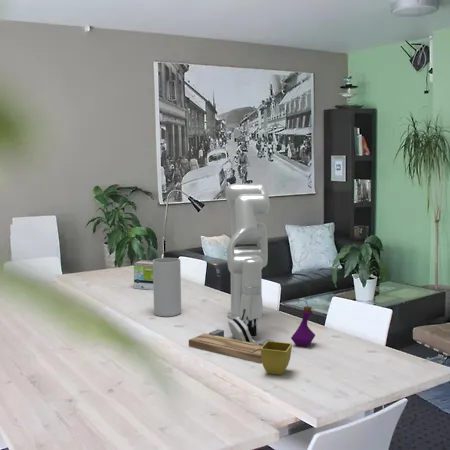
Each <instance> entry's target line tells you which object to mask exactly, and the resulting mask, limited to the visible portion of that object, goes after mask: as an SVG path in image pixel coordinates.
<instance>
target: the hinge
mask: <svg viewBox="0 0 450 450" xmlns="http://www.w3.org/2000/svg"><path fill="white" fill-rule="evenodd" d="M227 324H228V326H229V330H230V333H231V336H232V337H233V339H236V340H240V341H245V342H250V343H254V344H257V345H258V343H257V342H256V340H254V339H253V338H252V336H251V335H250V333H249V330H248V326H247V324H244V323H243V320H240V319H239V318H234V319H229V320H228V321H227Z"/></svg>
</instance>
